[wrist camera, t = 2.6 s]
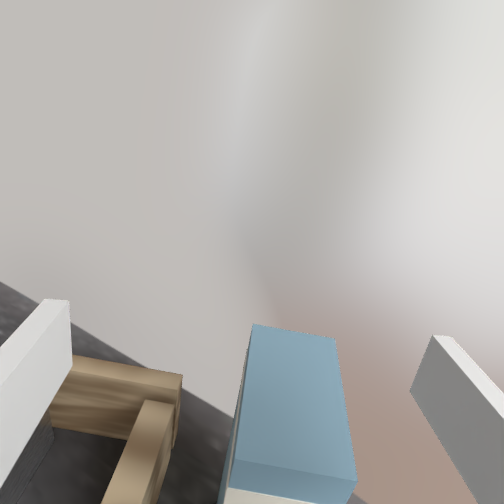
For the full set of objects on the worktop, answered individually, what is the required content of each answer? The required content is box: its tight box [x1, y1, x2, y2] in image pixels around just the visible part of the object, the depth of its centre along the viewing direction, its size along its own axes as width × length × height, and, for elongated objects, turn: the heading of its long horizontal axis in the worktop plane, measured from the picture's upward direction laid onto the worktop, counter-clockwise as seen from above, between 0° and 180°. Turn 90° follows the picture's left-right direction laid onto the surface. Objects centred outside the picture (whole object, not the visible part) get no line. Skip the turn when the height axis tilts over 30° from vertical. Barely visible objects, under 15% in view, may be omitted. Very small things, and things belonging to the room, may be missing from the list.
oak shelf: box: [49, 355, 183, 504], centre depth 35 cm, size 14×16×10 cm
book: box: [217, 324, 358, 504], centre depth 27 cm, size 10×6×24 cm, turn 175°
